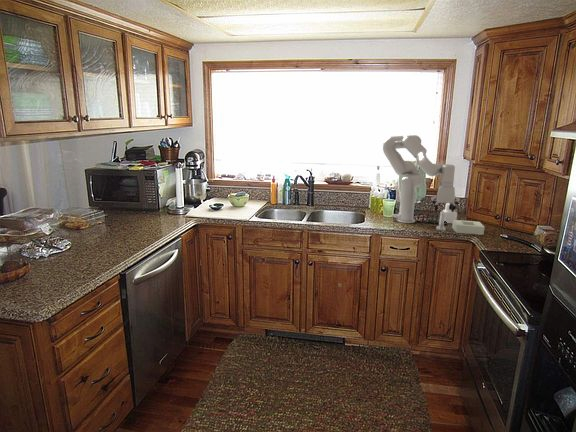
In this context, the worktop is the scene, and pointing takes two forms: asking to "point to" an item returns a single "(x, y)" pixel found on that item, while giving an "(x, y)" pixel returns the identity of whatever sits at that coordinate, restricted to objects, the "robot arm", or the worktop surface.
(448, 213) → the container
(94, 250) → the worktop surface
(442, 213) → the bracket
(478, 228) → the well block
